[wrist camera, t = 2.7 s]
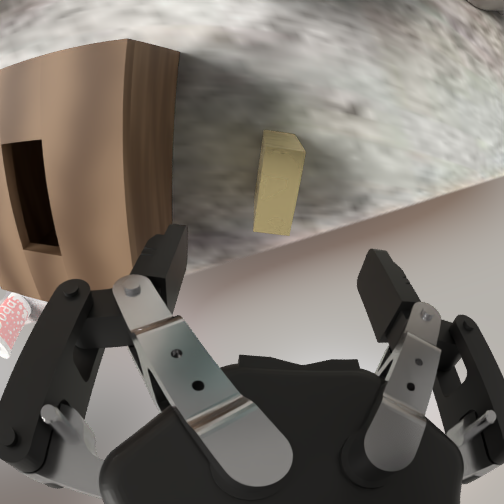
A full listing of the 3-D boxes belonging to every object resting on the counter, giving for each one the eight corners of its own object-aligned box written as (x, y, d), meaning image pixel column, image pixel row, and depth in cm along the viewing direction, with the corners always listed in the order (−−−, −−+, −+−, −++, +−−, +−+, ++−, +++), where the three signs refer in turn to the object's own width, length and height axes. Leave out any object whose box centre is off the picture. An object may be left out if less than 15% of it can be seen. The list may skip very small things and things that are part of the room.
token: (294, 134, 22) (306, 152, 17) (283, 200, 25) (289, 235, 20) (263, 129, 22) (265, 146, 17) (254, 197, 25) (253, 231, 20)
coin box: (179, 52, 18) (127, 38, 10) (172, 246, 28) (141, 321, 20) (35, 71, 17) (-42, 88, 9) (51, 232, 27) (1, 288, 19)
